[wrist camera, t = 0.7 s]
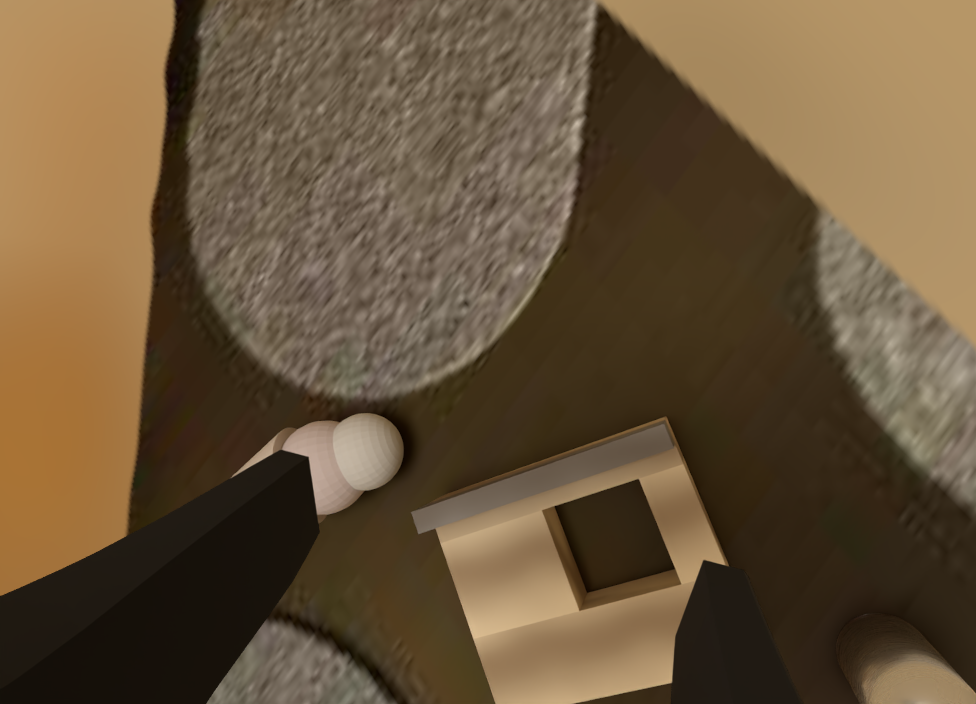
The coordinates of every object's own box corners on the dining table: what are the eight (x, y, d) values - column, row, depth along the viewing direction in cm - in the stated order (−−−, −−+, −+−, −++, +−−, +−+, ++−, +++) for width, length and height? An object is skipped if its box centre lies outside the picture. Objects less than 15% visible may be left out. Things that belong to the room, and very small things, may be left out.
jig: (759, 638, 29) (773, 685, 24) (513, 693, 33) (488, 742, 28) (666, 416, 30) (664, 423, 26) (444, 494, 34) (411, 512, 30)
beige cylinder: (950, 690, 26) (1025, 779, 20) (857, 706, 27) (904, 795, 21) (910, 604, 27) (972, 667, 21) (821, 624, 28) (857, 689, 22)
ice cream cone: (226, 501, 40) (418, 428, 38) (208, 585, 35) (425, 506, 33) (162, 455, 36) (374, 370, 34) (132, 543, 31) (375, 451, 29)
